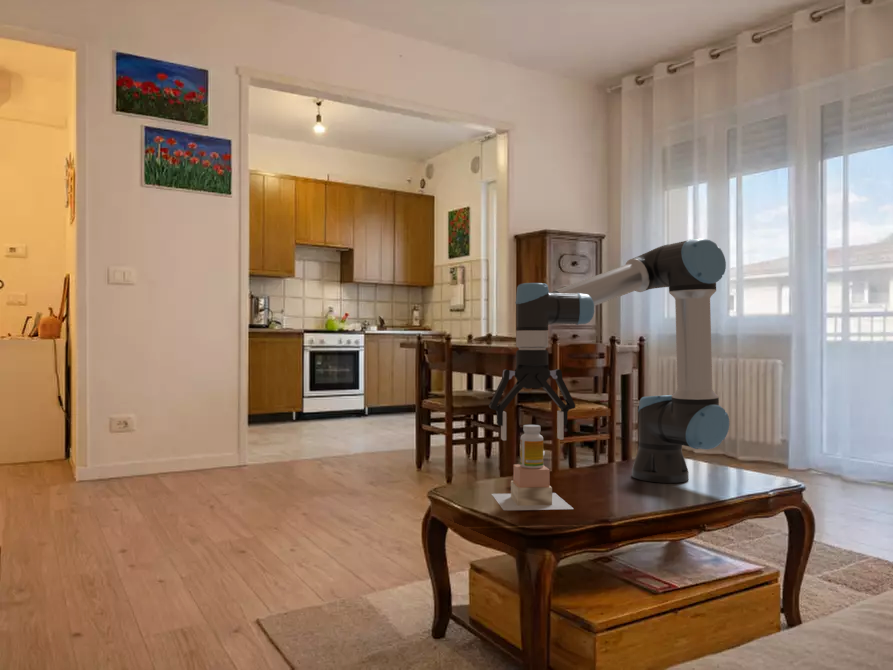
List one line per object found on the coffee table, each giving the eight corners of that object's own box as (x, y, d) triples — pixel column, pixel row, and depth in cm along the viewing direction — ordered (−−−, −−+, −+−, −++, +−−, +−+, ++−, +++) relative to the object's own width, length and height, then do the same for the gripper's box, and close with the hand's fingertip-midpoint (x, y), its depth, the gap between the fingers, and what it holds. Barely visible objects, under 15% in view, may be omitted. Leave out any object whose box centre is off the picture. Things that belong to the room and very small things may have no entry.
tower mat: (555, 494, 166) (555, 492, 166) (574, 510, 150) (574, 509, 150) (491, 495, 164) (491, 493, 164) (503, 512, 149) (503, 510, 149)
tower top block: (542, 480, 161) (542, 464, 161) (549, 487, 154) (549, 469, 154) (513, 481, 161) (513, 464, 161) (519, 487, 154) (519, 470, 154)
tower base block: (543, 496, 162) (543, 480, 162) (552, 504, 154) (552, 487, 154) (510, 497, 161) (510, 480, 161) (517, 505, 153) (517, 487, 153)
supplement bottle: (548, 467, 157) (548, 426, 157) (530, 470, 154) (530, 427, 154) (533, 464, 161) (533, 423, 161) (515, 466, 158) (515, 425, 158)
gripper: (578, 348, 163) (578, 436, 163) (477, 348, 160) (477, 437, 160) (588, 349, 155) (588, 440, 155) (482, 349, 153) (482, 442, 153)
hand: (532, 439), depth 158 cm, fingers open, 13 cm apart
